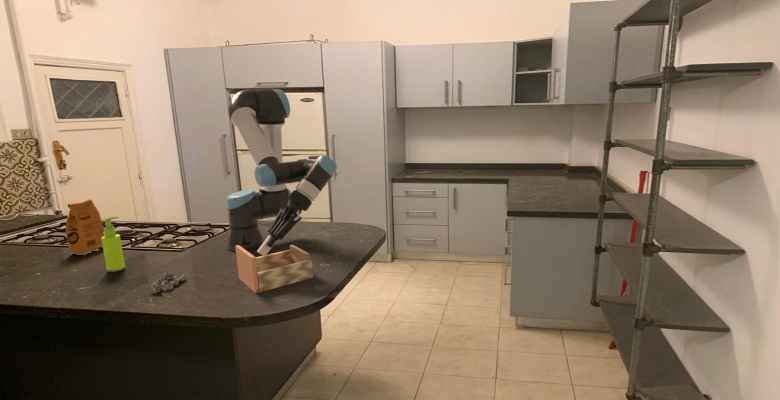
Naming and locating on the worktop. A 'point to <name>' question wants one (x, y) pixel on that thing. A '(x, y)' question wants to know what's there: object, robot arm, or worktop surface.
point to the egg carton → (166, 282)
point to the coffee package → (84, 227)
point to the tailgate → (247, 268)
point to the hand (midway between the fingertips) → (260, 254)
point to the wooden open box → (283, 268)
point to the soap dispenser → (112, 247)
